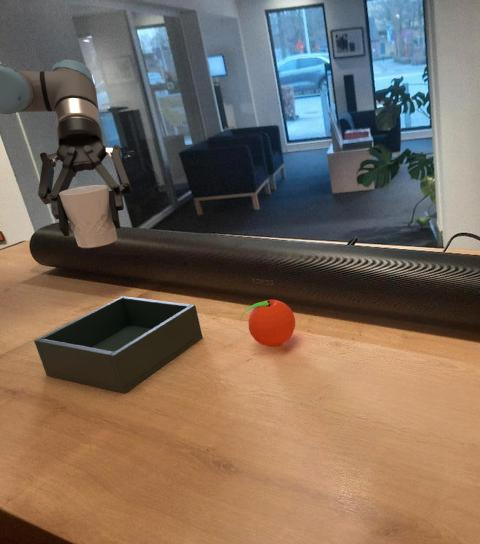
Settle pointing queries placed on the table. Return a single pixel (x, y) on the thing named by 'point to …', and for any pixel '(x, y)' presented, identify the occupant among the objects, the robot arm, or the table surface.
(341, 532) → the table surface
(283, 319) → the clementine
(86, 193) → the white cup
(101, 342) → the open dark box
